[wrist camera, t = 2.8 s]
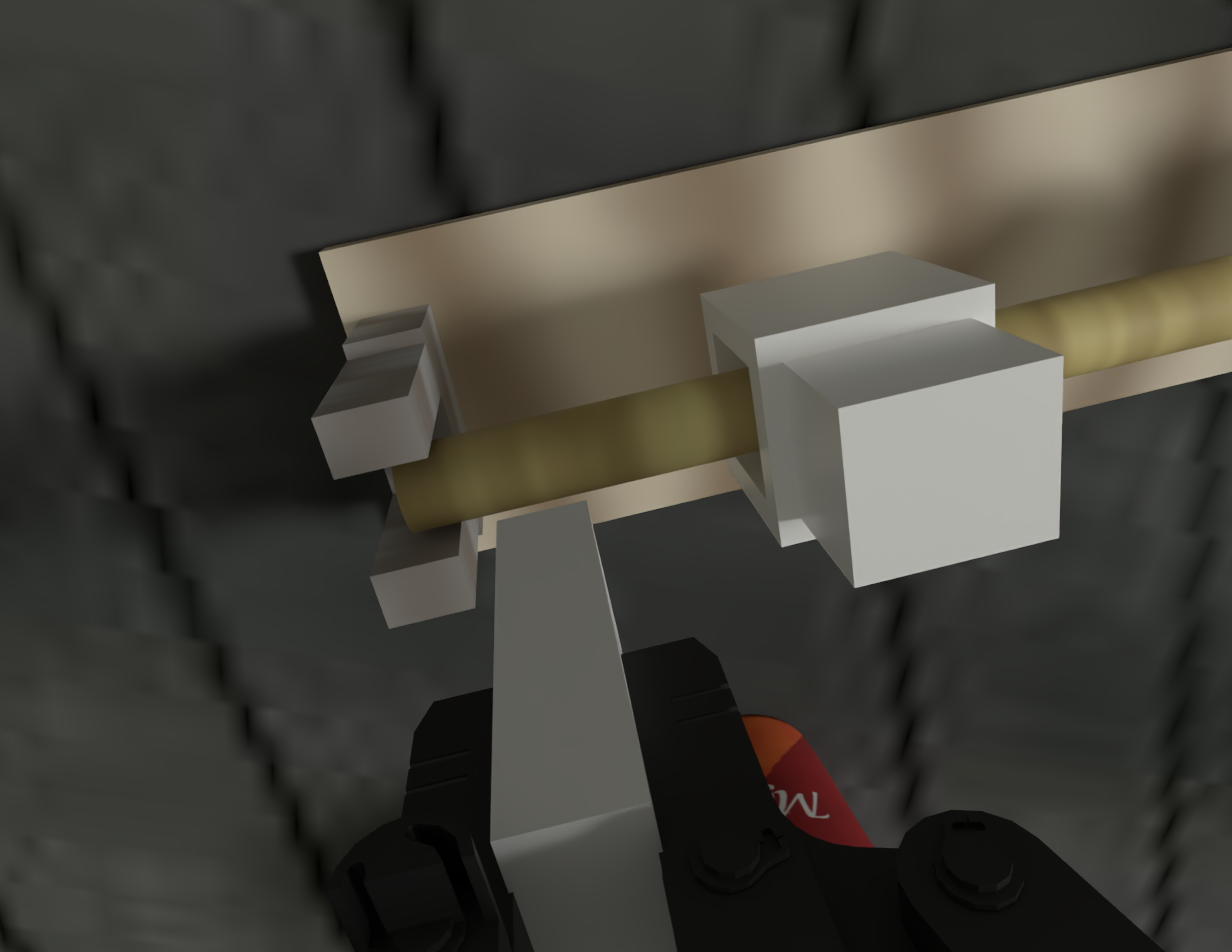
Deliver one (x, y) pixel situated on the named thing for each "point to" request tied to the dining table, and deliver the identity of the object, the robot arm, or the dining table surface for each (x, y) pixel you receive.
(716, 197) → the cord rig
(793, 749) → the coffee cup
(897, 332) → the sleeve
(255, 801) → the dining table surface
